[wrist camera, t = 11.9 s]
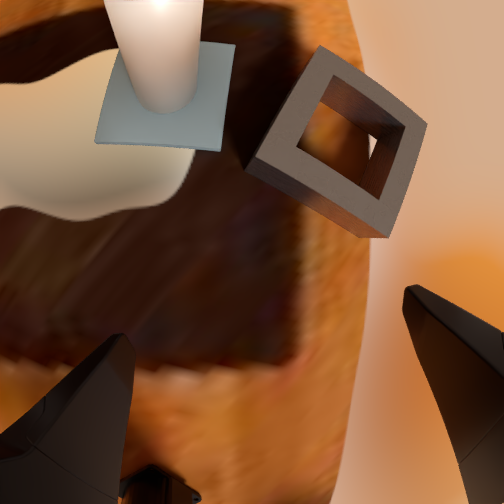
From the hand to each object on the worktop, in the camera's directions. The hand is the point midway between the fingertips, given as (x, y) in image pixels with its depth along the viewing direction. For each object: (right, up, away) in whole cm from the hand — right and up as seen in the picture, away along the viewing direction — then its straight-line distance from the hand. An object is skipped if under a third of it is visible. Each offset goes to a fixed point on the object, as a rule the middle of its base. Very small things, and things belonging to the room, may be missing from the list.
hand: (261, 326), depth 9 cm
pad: (-6, +14, +10) cm, 19 cm away
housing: (+6, +10, +13) cm, 17 cm away
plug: (-6, +14, +10) cm, 18 cm away
